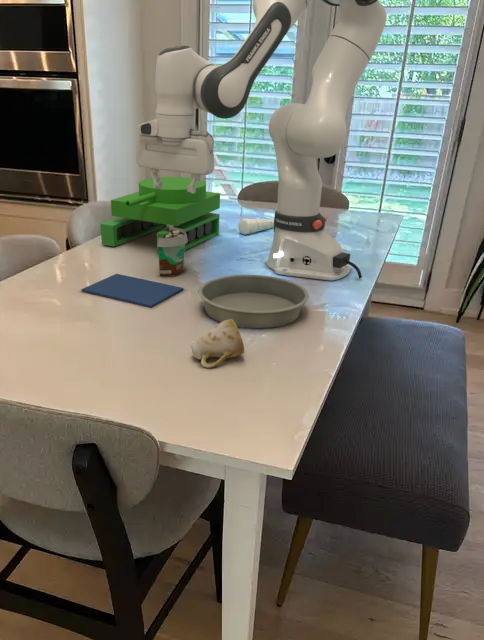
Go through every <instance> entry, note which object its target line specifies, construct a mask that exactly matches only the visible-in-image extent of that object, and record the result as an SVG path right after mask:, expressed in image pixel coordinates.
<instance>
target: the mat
mask: <svg viewBox="0 0 484 640" xmlns="http://www.w3.org/2000/svg"><path fill="white" fill-rule="evenodd" d="M183 291H184V287H181V286H176V285H171V284H167V283H162V282H157V281H153V280H148V279H144V278H139V277H134V276H129V275H124V274H119V273H114V274H113V275H110V276H108V277H106V278H104V279H102V280H99V281H97V282H94V283H92V284H90V285H88V286H86V287H84V288H81V293H82V292H83V293H87V294H91V295H96V296H99V297H103V298H109V299H113V300H116V301H121V302H125V303H129V304H133V305H138V306H142V307H147V308H151V309H152V308H154V307H156V306H158V305H159V304H161V303H163V302H164V301H166V300H168V299H170V298H172V297H174V296H176V295H177V294H179V293H181V292H183Z"/></svg>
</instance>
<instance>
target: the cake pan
mask: <svg viewBox="0 0 484 640" xmlns="http://www.w3.org/2000/svg"><path fill="white" fill-rule="evenodd" d="M197 294H198V296H199V298H200V299H201V300H202V301H203V305H204V308H205V312H206V313H207V315H208V316H209V317H210V318H212V319H213V320H215V321H218V322H219V323H220V322H222V321H225V320H229V319H232V320H233V321H234V322H235V323H236V325H237V327H239V328H248V329H268V328H269V329H270V328H275V327H277V328H278V327H281V326H285V325H288V324H290V323H293V322H295V320H297V319H298V318H299V317H300V314H301V311H302V308H303V306H304V305H305V304H306V303H308V301H309V298H310V294H309V291H308V290H307V289H306V288H305V287H304V286H302V285H301V284H299V283H296V282H294V281H291V280H289V279H285V278H282V277H277V276H272V275H271V276H270V275H262V274H232V275H224V276H220V277H216V278H213V279H212V278H211V279H209V280H207V281H206V282H204V283H202V284H201V285H200V286H199V288H198V290H197Z"/></svg>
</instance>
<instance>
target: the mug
mask: <svg viewBox="0 0 484 640" xmlns="http://www.w3.org/2000/svg"><path fill="white" fill-rule="evenodd" d="M190 348H191V353H192V355H193V357H194V358H195V359H196V360H200V364H201V366H202V367H203V368H206V369H211V368H216V367H217V366H218V365H220V364H221V363H222V362H223V361H225V360H226V359H228V358H230V359H231V358H235V357H236V358H237V357H238V356H240V355H243V354H245V345H244V340H243V338H242V335H241V331H240V330H239V328H238V326H237V325H236V323H235V322H234V321H233V320H232V319H229V320H225V321H222V322H220V321H219V323H218V324H216V325H215V326H214V327H213V328H211V329H210V330H209V331H208V332H207V333H206V334H205V335H203V336H201V337H198V338H195V339H193V340H192V342H191V344H190ZM209 358H219V359H218V360H216V361H214V362H213V363H207V359H209Z"/></svg>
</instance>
